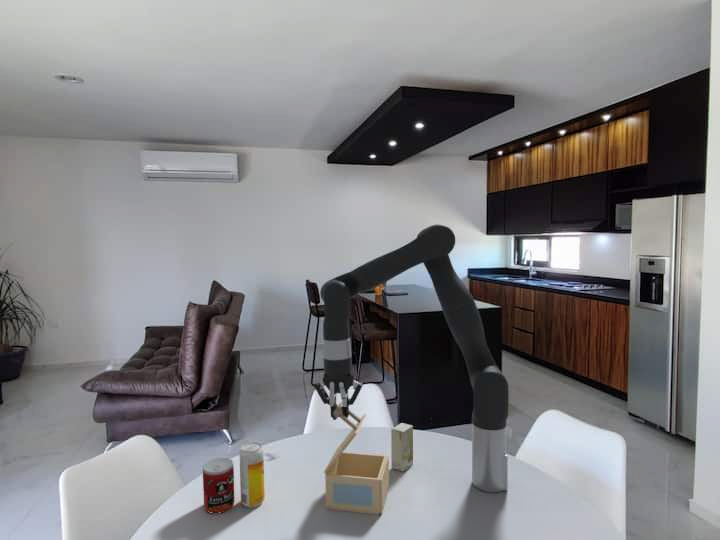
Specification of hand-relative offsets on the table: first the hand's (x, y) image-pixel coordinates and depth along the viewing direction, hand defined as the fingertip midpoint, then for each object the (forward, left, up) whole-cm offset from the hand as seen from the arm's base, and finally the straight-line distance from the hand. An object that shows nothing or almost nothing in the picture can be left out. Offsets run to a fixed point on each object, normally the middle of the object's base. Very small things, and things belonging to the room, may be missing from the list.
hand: (339, 418), depth 117 cm
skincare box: (-15, -19, -21) cm, 32 cm away
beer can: (+22, +7, -21) cm, 32 cm away
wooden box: (-5, 0, -21) cm, 22 cm away
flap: (-2, 0, -6) cm, 7 cm away
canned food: (+30, +10, -21) cm, 39 cm away
